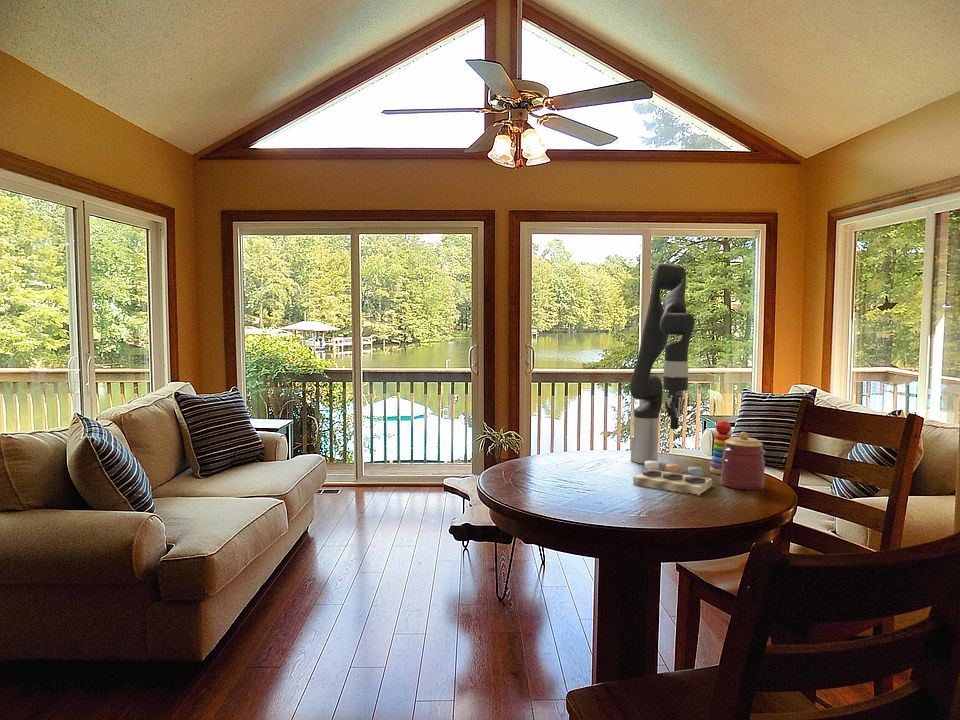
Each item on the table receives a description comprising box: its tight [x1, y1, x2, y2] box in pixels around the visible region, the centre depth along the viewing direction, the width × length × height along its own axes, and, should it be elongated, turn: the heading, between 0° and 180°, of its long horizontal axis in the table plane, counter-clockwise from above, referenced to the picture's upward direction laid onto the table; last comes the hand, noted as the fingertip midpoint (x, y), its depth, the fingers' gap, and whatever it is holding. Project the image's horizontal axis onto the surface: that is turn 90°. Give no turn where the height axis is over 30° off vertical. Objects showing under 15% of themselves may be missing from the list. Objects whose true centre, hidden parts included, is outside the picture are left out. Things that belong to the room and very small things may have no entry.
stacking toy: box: [709, 419, 732, 475], centre depth 208 cm, size 8×8×19 cm
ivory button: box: [644, 461, 660, 471], centre depth 194 cm, size 5×5×2 cm
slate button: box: [686, 466, 704, 477], centre depth 185 cm, size 5×5×2 cm
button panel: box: [632, 469, 713, 496], centre depth 190 cm, size 21×14×3 cm, turn 54°
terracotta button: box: [665, 463, 682, 474], centre depth 189 cm, size 5×5×2 cm
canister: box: [720, 431, 766, 491], centre depth 190 cm, size 13×13×18 cm
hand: (674, 428), depth 189 cm, fingers closed
